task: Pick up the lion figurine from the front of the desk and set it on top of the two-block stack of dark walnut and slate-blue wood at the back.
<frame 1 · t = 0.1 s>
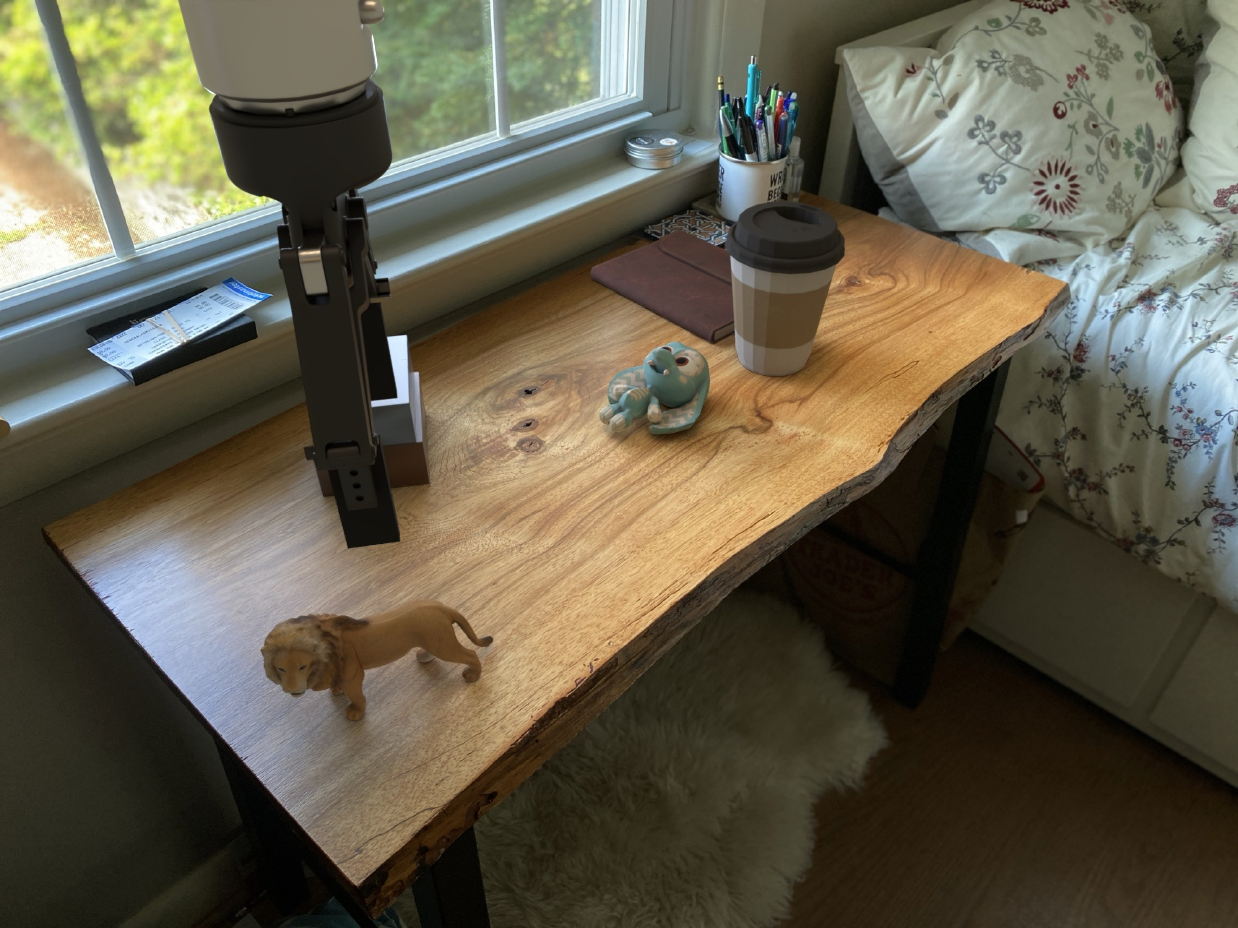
hand: (375, 462, 54), 18 cm above the table, tool pointing down, fingers open, 13 cm apart
lion figurine: (390, 694, 63), on the table
notebook: (694, 290, 108), on the table
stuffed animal: (654, 413, 89), on the table
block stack: (377, 451, 84), on the table
coffee cup: (771, 359, 96), on the table
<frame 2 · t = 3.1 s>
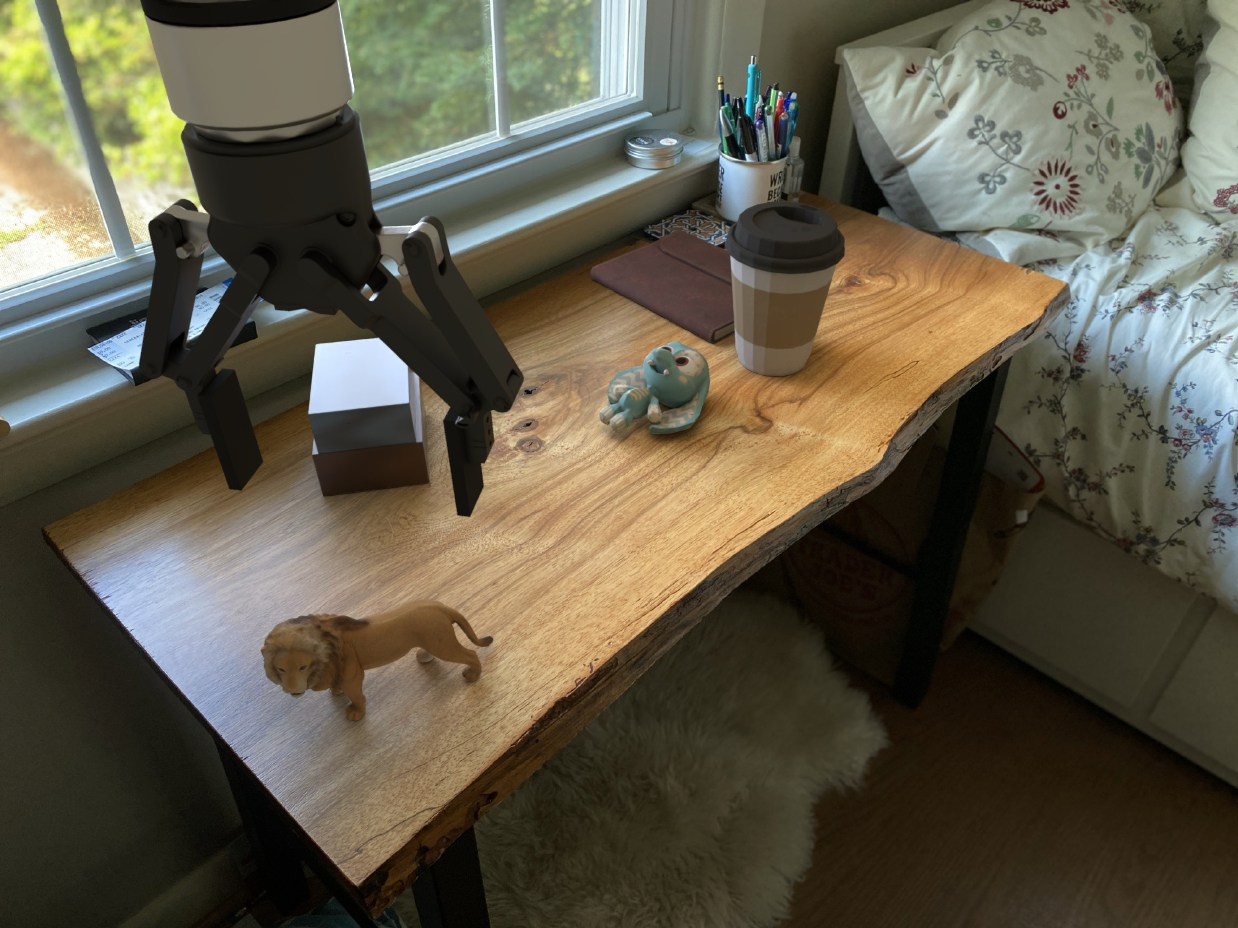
hand: (357, 488, 54), 17 cm above the table, tool pointing down, fingers open, 13 cm apart
nothing on the table moved.
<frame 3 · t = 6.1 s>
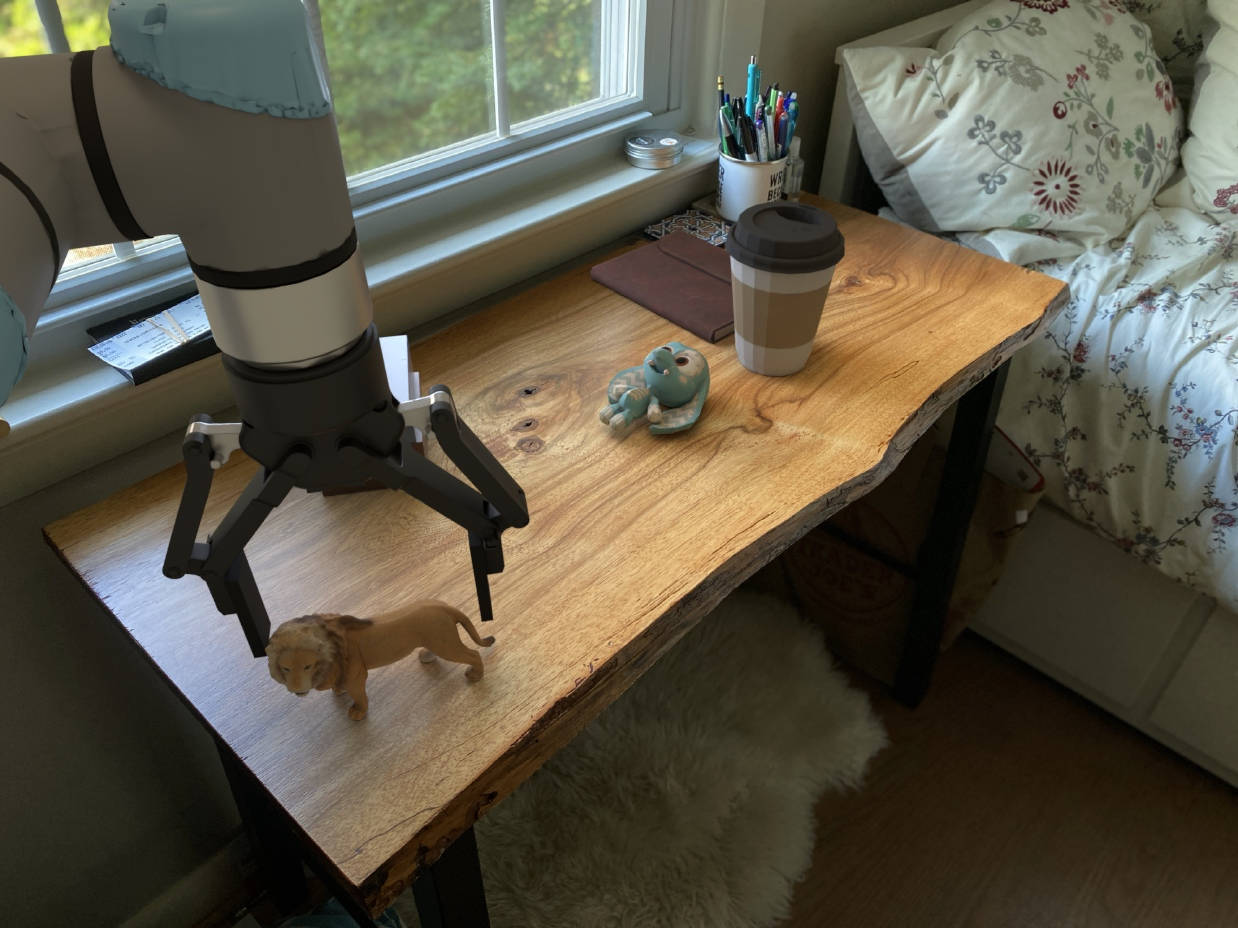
hand: (376, 624, 59), 7 cm above the table, tool pointing down, fingers open, 13 cm apart
lion figurine: (392, 694, 63), on the table, touching gripper
everything else where it was.
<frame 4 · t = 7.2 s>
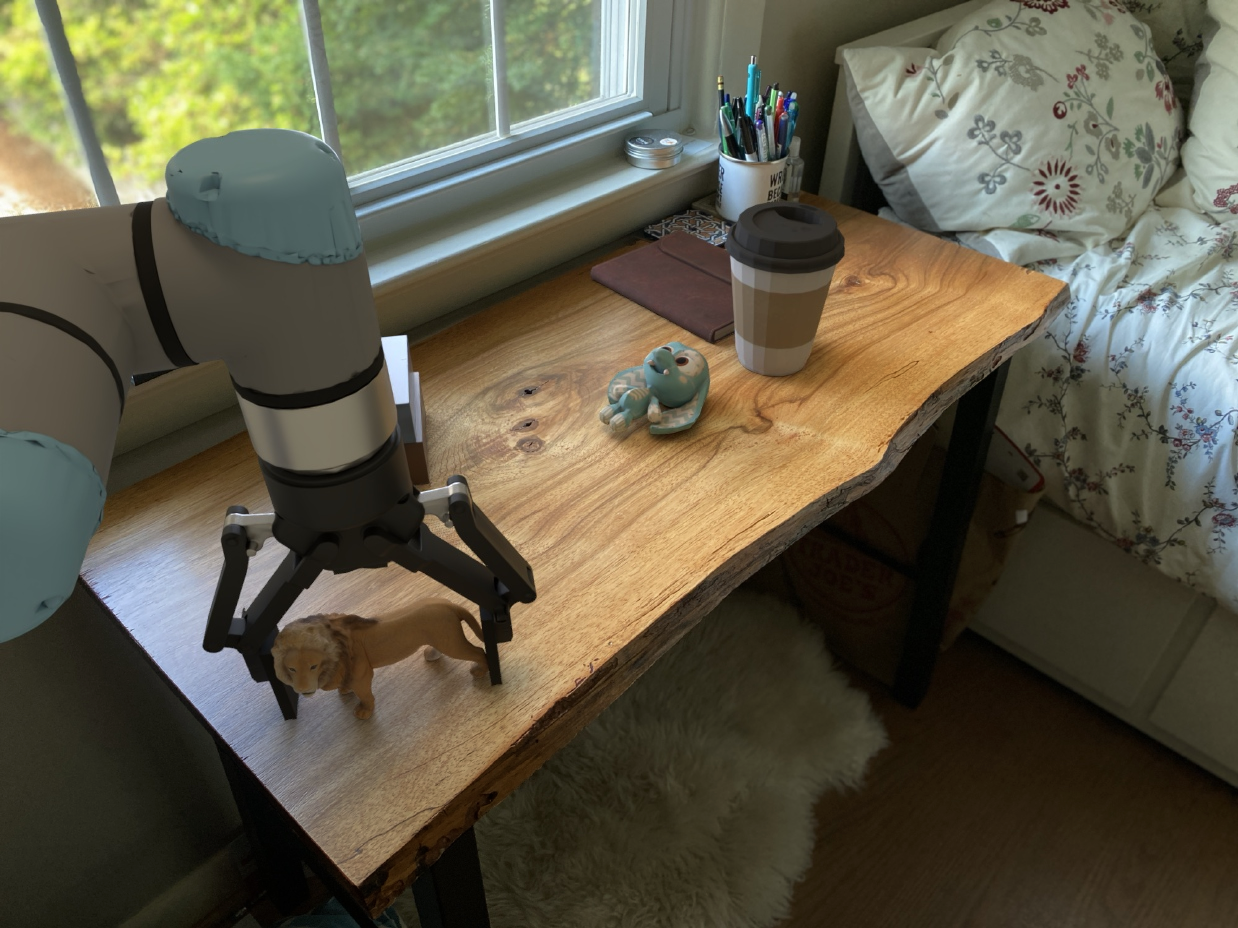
hand: (395, 686, 63), 1 cm above the table, tool pointing down, fingers closed on lion figurine, 13 cm apart
lion figurine: (398, 692, 64), on the table, touching gripper
everything else where it was.
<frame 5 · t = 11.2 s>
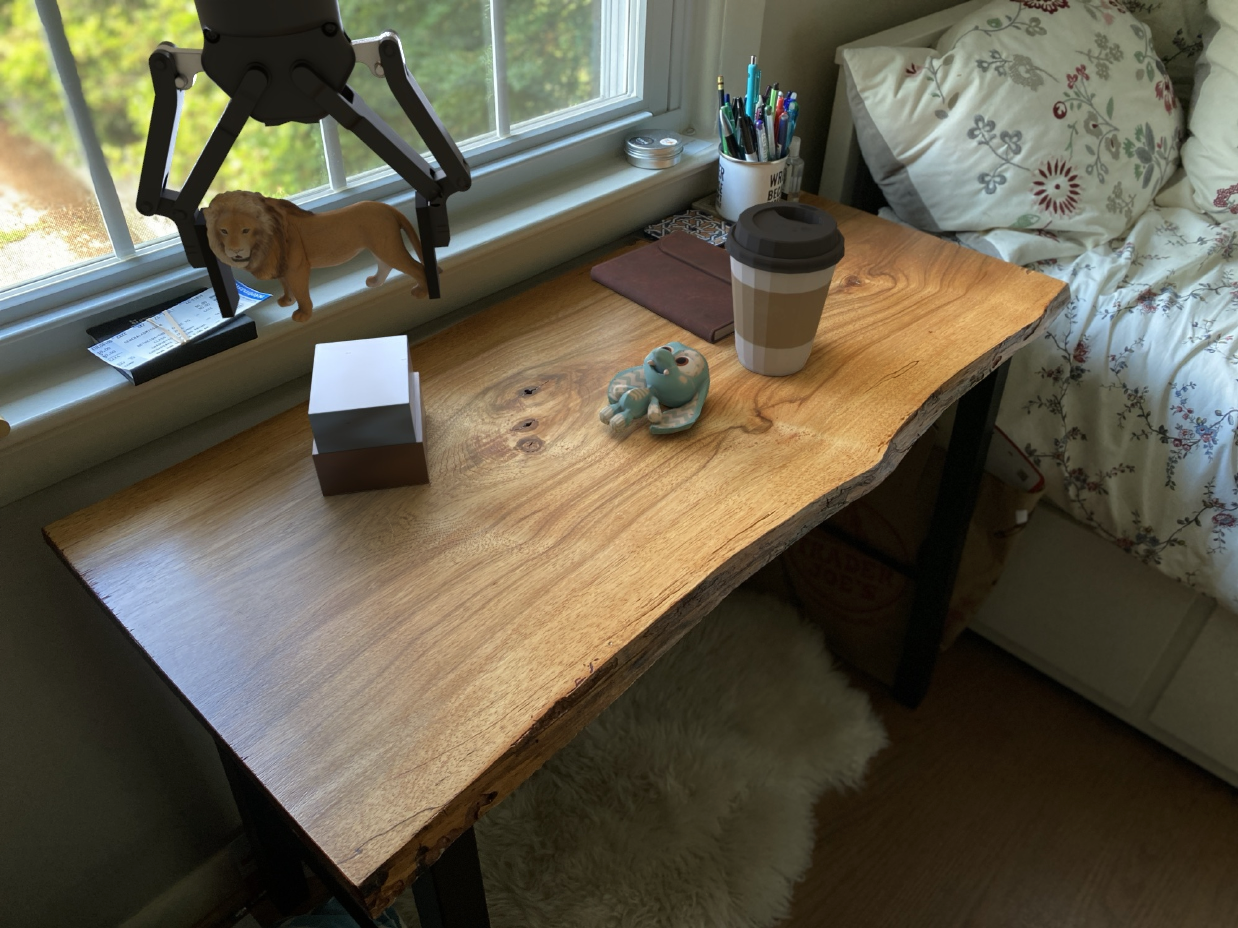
hand: (334, 299, 63), 21 cm above the table, tool pointing down, fingers closed on lion figurine, 13 cm apart
lion figurine: (338, 309, 64), point 20 cm above the table, touching gripper
everything else where it was.
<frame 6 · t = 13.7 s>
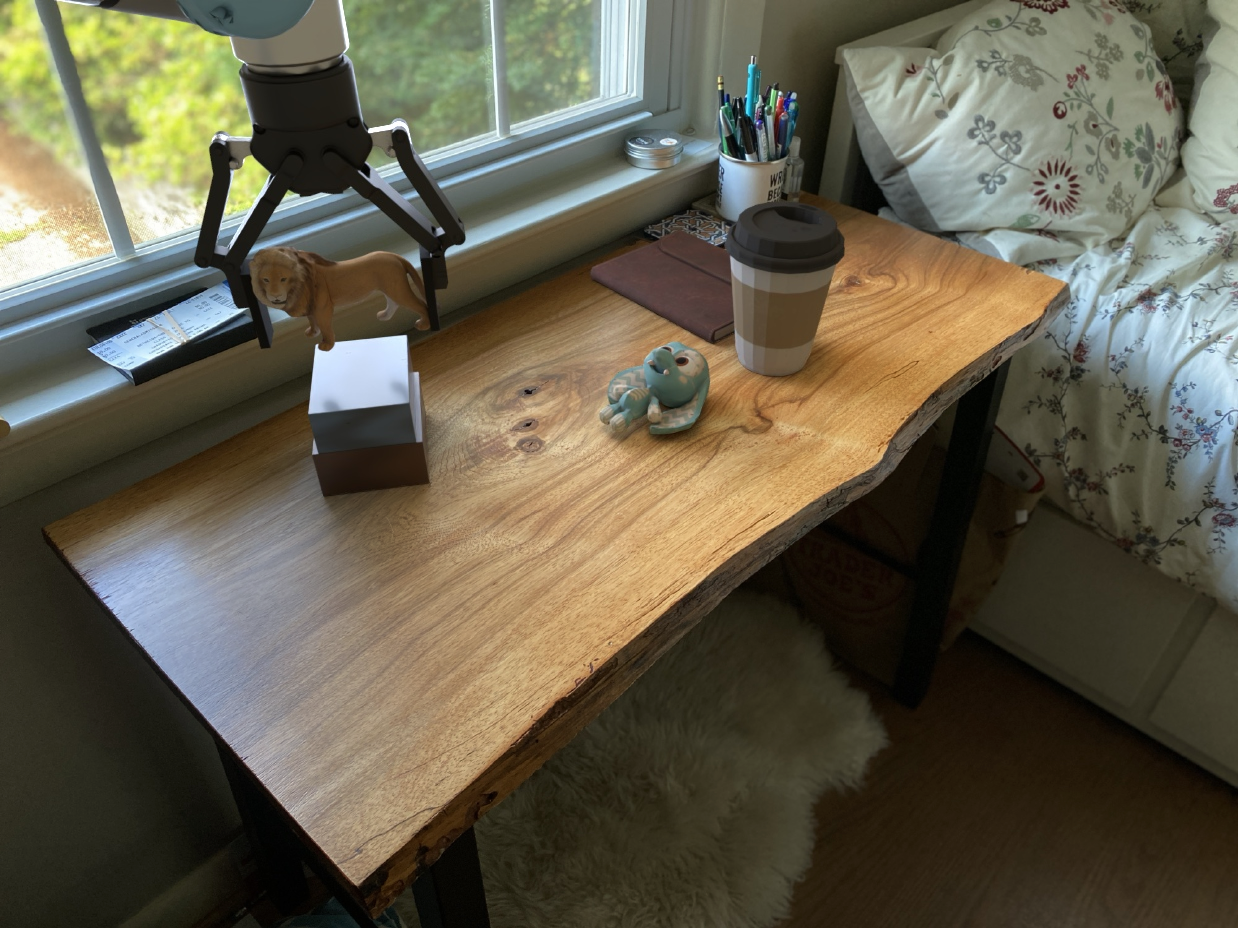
hand: (352, 331, 77), 12 cm above the table, tool pointing down, fingers closed on lion figurine, 13 cm apart
lion figurine: (355, 339, 77), point 12 cm above the table, touching gripper
everything else where it was.
when the fingers open (9 cm above the table, at t = 15.3 s): lion figurine stays where it is, point 8 cm above the table.
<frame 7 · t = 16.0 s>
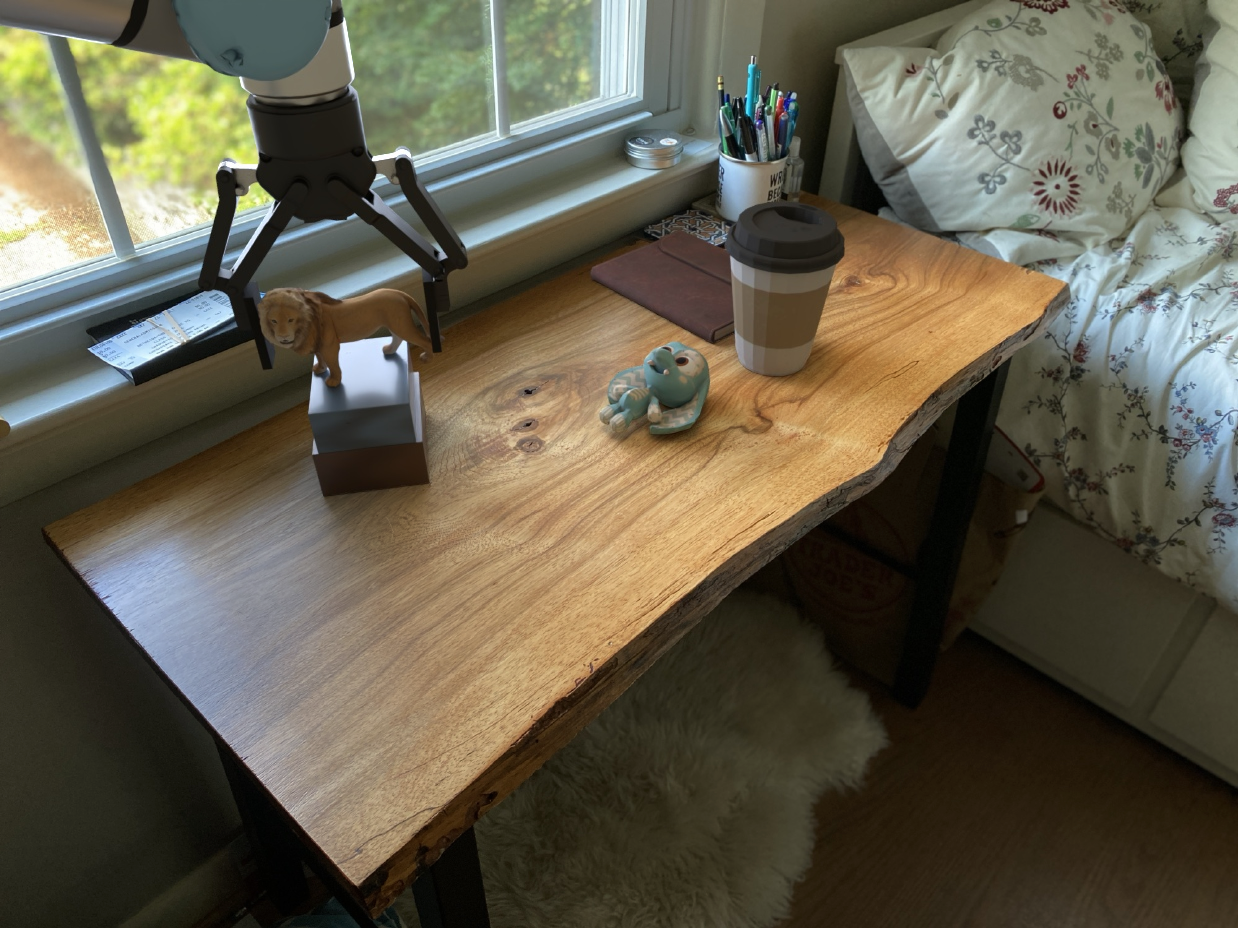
hand: (354, 353, 78), 10 cm above the table, tool pointing down, fingers open, 13 cm apart
lion figurine: (361, 373, 79), point 8 cm above the table, touching gripper
everything else where it was.
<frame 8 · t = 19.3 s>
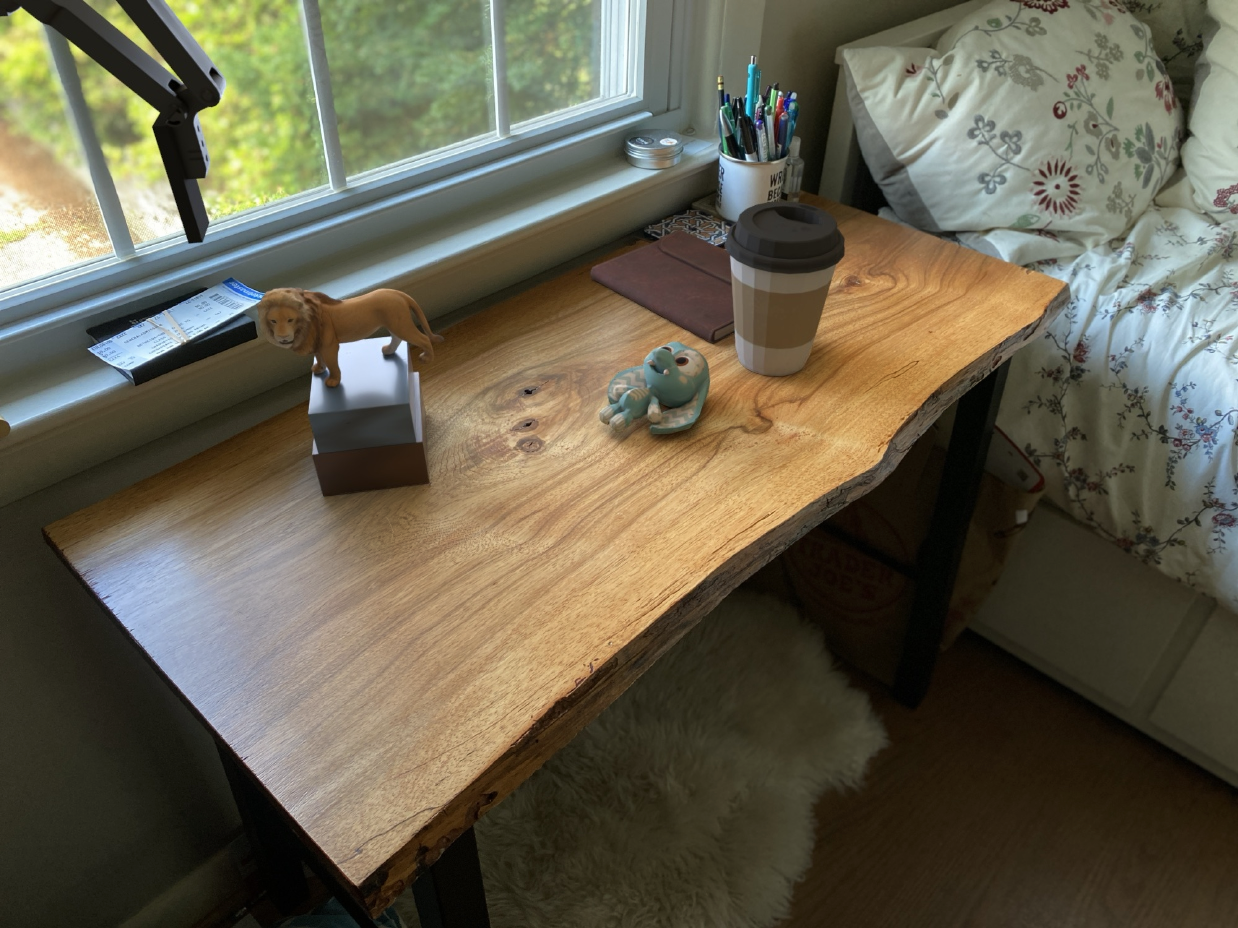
hand: (72, 244, 52), 29 cm above the table, tool pointing down, fingers open, 13 cm apart
lion figurine: (360, 374, 79), point 8 cm above the table, touching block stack
everything else where it was.
at the end: lion figurine 0.0 cm off-centre on the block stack, point 8.3 cm above the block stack's base; lion figurine tilted 0°; the gripper is holding nothing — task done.
